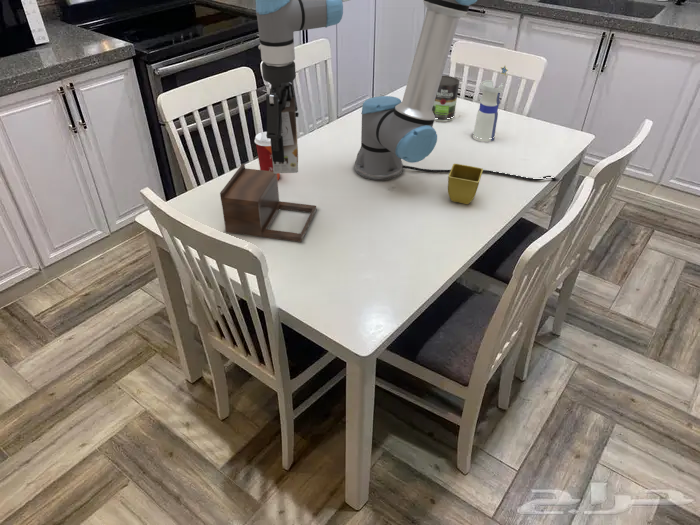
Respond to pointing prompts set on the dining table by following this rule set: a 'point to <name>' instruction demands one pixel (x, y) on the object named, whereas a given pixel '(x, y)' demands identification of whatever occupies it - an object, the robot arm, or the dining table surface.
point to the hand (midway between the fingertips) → (285, 151)
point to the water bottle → (488, 110)
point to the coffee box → (288, 140)
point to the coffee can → (446, 99)
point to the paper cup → (264, 152)
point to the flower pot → (463, 183)
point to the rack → (257, 205)
